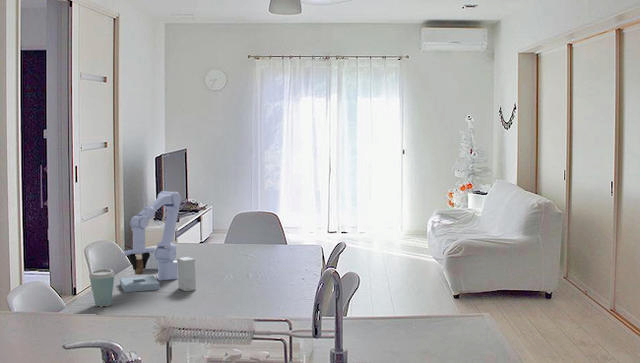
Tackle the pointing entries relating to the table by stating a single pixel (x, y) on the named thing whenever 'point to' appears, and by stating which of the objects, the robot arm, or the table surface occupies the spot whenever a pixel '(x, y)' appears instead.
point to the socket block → (139, 283)
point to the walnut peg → (139, 267)
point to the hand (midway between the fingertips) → (139, 269)
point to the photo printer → (152, 259)
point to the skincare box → (186, 274)
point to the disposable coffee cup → (102, 286)
